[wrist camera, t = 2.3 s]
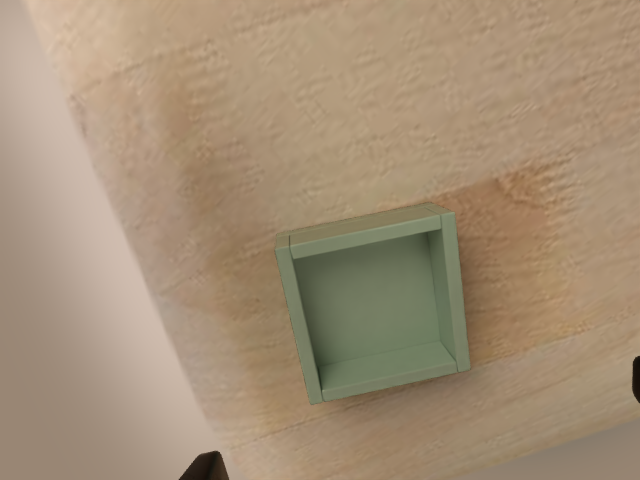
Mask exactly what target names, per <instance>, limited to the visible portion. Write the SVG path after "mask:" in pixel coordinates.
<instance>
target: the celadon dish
mask: <svg viewBox="0 0 640 480" xmlns="http://www.w3.org/2000/svg"><path fill="white" fill-rule="evenodd" d="M274 251H275V255H276V259H277V264H278V268H279V272H280V276H281V281H282V285H283V289H284V294H285V298H286V302H287V307H288V311H289V315H290V320H291V324H292V328H293V333H294V337H295V341H296V346H297V350H298V354H299V359H300V363H301V367H302V372H303V376H304V380H305V384H306V389H307V393H308V397H309V402H310V404H311V405H314V404H318V403H322V402H323V401H324V402H327V401H332V400H337V399H341V398H346V397H350V396H355V395H359V394H364V393H368V392H373V391H377V390H382V389H387V388H391V387H396V386H400V385H405V384H409V383H414V382H418V381H423V380H427V379H432V378H436V377H441V376H446V375H450V374H455V373H457V372H458V373H460V372H464V371H469V370H471V367H470V357H469V347H468V337H467V328H466V318H465V308H464V298H463V288H462V278H461V268H460V258H459V248H458V238H457V228H456V218H455V212H453V211H451V210H449V209H446V208H444V207H442V206H439V205H436V204H434V203H432V202H428V203H423V204H418V205H413V206H409V207H404V208H399V209H394V210H389V211H384V212H379V213H374V214H370V215H365V216H360V217H355V218H350V219H345V220H340V221H335V222H331V223H326V224H321V225H316V226H311V227H306V228H301V229H296V230H292V231H287V232H282V233H277V234H276V242H275V250H274Z"/></svg>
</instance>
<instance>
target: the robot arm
mask: <svg viewBox="0 0 640 480" xmlns="http://www.w3.org/2000/svg"><path fill="white" fill-rule="evenodd" d="M632 390H633V394H634V396H635V398H636V399H637V401H638V402H639V403H640V356H638V357H636V358H635V359H634V361H633V377H632ZM179 480H229V477H228V474H227V471H226V468H225V465H224V462H223V458H222V456H221V454H220V452H218V451H212V452H208V453H203V454H200V455H199V456H198V457H197V458H196V459H195V460H194V461H193V463H192V464H191V465H190V466H189V468H188V469H187V470H186V471H185V473H184V474H183V475H182V476H181V477H180V479H179Z"/></svg>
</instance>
